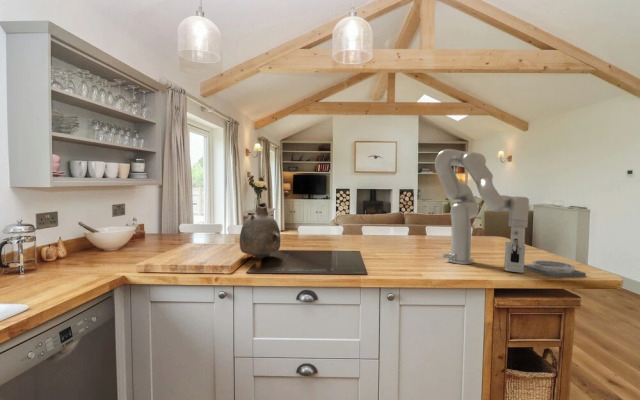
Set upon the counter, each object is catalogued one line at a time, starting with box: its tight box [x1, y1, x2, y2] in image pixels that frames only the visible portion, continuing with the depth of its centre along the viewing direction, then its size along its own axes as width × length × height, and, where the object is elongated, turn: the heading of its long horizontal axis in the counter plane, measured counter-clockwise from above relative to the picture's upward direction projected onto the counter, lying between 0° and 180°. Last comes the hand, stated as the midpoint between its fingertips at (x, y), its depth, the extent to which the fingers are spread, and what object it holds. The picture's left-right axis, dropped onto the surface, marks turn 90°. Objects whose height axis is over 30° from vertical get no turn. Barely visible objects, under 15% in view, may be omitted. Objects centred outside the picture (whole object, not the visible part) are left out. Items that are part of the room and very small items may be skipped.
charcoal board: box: [524, 263, 586, 278], centre depth 156 cm, size 17×17×2 cm
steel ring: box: [531, 259, 576, 273], centre depth 156 cm, size 16×16×2 cm
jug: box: [239, 202, 281, 259], centre depth 178 cm, size 24×21×30 cm
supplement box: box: [503, 241, 526, 274], centre depth 156 cm, size 7×7×13 cm
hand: (515, 260), depth 156 cm, fingers closed on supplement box, 8 cm apart
